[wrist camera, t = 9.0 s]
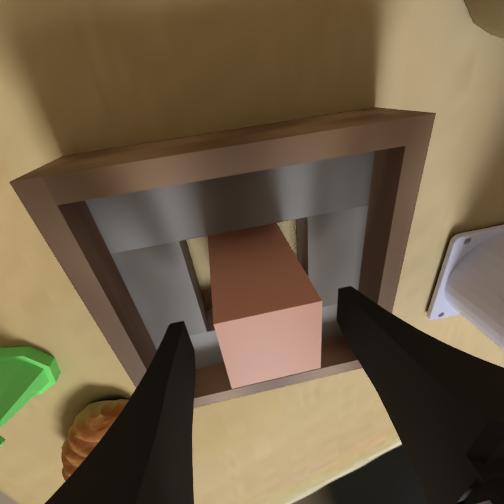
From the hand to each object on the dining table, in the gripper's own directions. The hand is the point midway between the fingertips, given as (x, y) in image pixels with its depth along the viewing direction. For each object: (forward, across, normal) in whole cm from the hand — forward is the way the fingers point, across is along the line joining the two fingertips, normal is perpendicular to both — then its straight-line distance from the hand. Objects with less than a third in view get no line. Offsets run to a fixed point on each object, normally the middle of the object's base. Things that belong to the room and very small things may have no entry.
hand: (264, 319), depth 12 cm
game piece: (+5, +16, +5) cm, 18 cm away
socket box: (+5, 0, 0) cm, 5 cm away
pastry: (+6, +14, +15) cm, 21 cm away
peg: (+5, 0, 0) cm, 5 cm away
